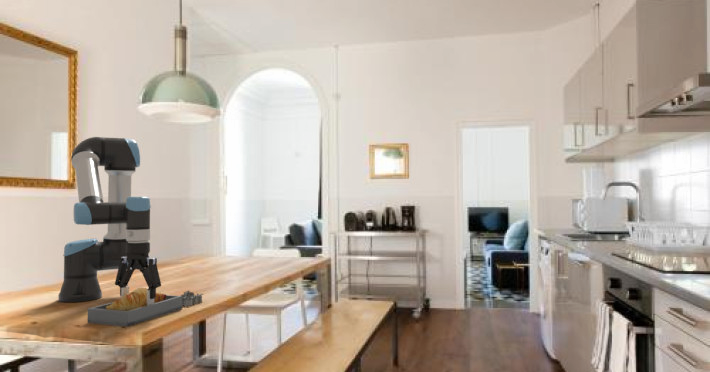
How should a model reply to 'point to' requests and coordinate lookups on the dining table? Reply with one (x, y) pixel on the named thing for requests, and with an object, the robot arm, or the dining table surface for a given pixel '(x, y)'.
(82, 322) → the dining table surface
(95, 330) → the dining table surface
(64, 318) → the dining table surface
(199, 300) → the egg carton
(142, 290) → the croissant
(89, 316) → the grey rectangular open tray
